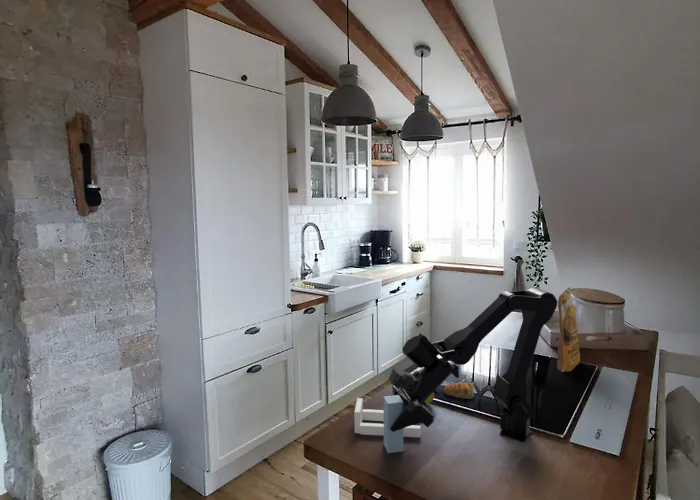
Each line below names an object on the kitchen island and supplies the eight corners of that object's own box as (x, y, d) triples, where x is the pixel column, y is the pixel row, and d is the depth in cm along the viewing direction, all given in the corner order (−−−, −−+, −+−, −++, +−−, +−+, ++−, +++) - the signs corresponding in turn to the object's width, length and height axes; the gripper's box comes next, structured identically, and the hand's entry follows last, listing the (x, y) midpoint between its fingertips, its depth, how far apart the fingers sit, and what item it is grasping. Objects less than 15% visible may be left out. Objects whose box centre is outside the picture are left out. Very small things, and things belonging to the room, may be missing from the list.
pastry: (444, 398, 140) (444, 386, 140) (443, 389, 147) (443, 378, 146) (475, 400, 139) (475, 388, 138) (472, 390, 145) (472, 379, 145)
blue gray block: (398, 442, 116) (398, 395, 114) (403, 451, 112) (403, 402, 110) (383, 444, 115) (383, 396, 113) (387, 453, 111) (387, 403, 109)
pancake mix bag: (547, 370, 160) (551, 294, 156) (565, 355, 174) (569, 285, 170) (567, 375, 155) (572, 296, 151) (584, 360, 169) (588, 287, 165)
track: (419, 420, 127) (419, 400, 126) (420, 437, 118) (420, 416, 117) (357, 417, 129) (357, 397, 128) (354, 434, 120) (354, 412, 119)
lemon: (434, 410, 132) (434, 384, 131) (415, 408, 133) (415, 383, 132) (434, 401, 138) (434, 376, 137) (416, 400, 139) (416, 375, 138)
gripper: (398, 345, 120) (358, 388, 119) (421, 373, 102) (374, 424, 101) (425, 371, 122) (386, 413, 122) (453, 402, 104) (407, 452, 104)
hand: (388, 424), depth 112 cm, fingers open, 6 cm apart
